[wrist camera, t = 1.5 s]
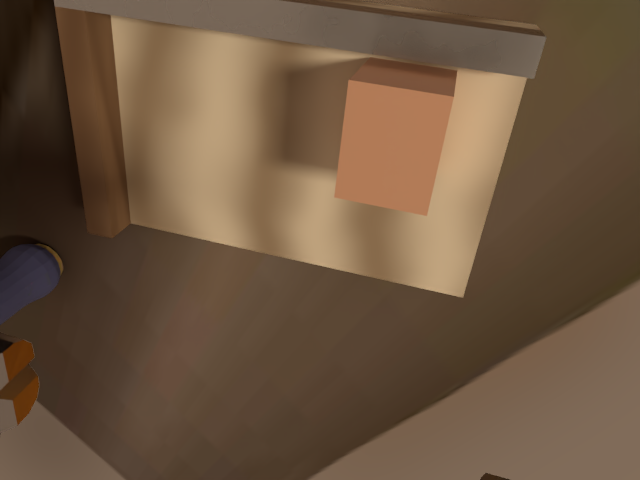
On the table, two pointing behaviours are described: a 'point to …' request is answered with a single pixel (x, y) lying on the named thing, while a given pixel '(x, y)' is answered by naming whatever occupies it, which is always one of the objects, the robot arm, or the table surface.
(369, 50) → the steel straightedge
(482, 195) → the birch board
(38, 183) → the table surface
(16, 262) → the rubber mallet
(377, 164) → the block
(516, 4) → the table surface
